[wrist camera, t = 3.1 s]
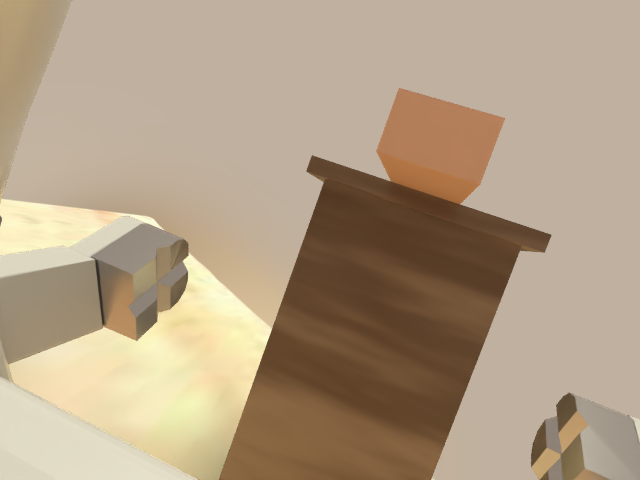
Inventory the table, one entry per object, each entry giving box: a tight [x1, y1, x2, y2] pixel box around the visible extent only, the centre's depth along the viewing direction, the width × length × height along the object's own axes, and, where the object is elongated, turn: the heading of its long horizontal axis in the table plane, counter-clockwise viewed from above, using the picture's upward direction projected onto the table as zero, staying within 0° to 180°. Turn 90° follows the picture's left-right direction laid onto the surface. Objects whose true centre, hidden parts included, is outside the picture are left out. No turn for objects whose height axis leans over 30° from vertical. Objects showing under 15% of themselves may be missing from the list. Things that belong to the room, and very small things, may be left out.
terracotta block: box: [377, 88, 505, 204], centre depth 28 cm, size 23×4×2 cm, turn 166°
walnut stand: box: [219, 156, 551, 480], centre depth 33 cm, size 14×14×26 cm
